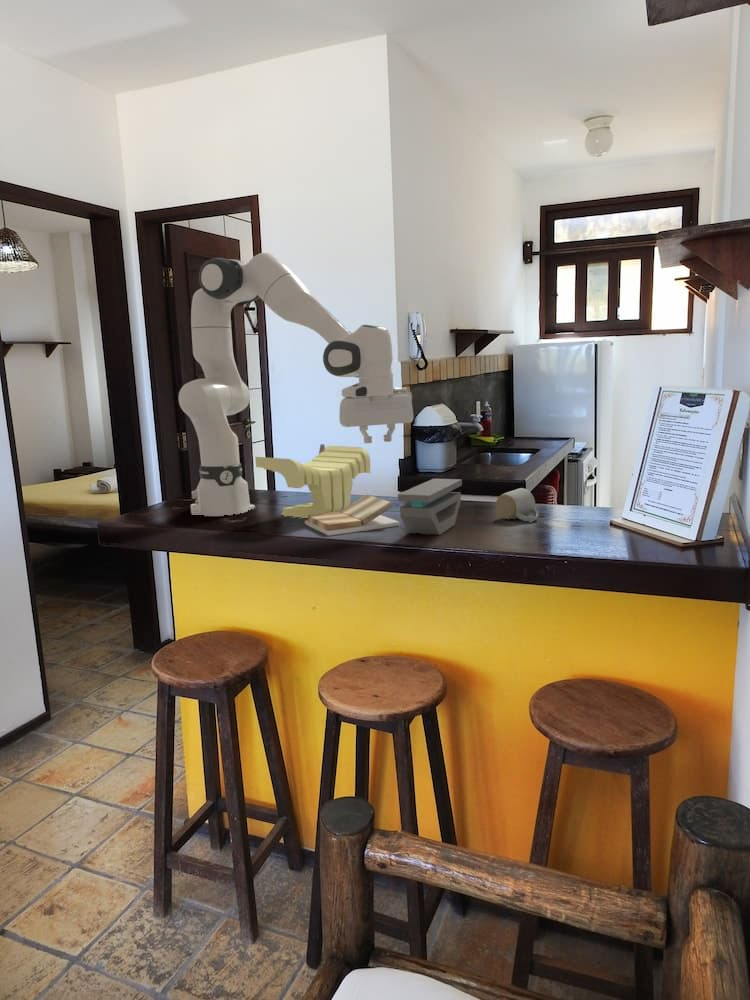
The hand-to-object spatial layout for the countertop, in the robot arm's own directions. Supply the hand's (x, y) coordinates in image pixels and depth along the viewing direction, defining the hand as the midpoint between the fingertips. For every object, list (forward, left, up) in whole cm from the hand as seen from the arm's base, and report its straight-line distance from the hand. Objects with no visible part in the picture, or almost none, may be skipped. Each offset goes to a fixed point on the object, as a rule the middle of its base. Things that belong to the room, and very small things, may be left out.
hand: (377, 442), depth 186 cm
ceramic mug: (+19, +32, -21) cm, 43 cm away
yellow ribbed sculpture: (-19, -10, -21) cm, 30 cm away
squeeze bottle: (-35, -1, -21) cm, 41 cm away
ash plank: (0, -4, -18) cm, 18 cm away
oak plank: (0, -13, -21) cm, 25 cm away
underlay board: (0, -8, -21) cm, 23 cm away
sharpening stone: (+16, +7, -21) cm, 27 cm away
